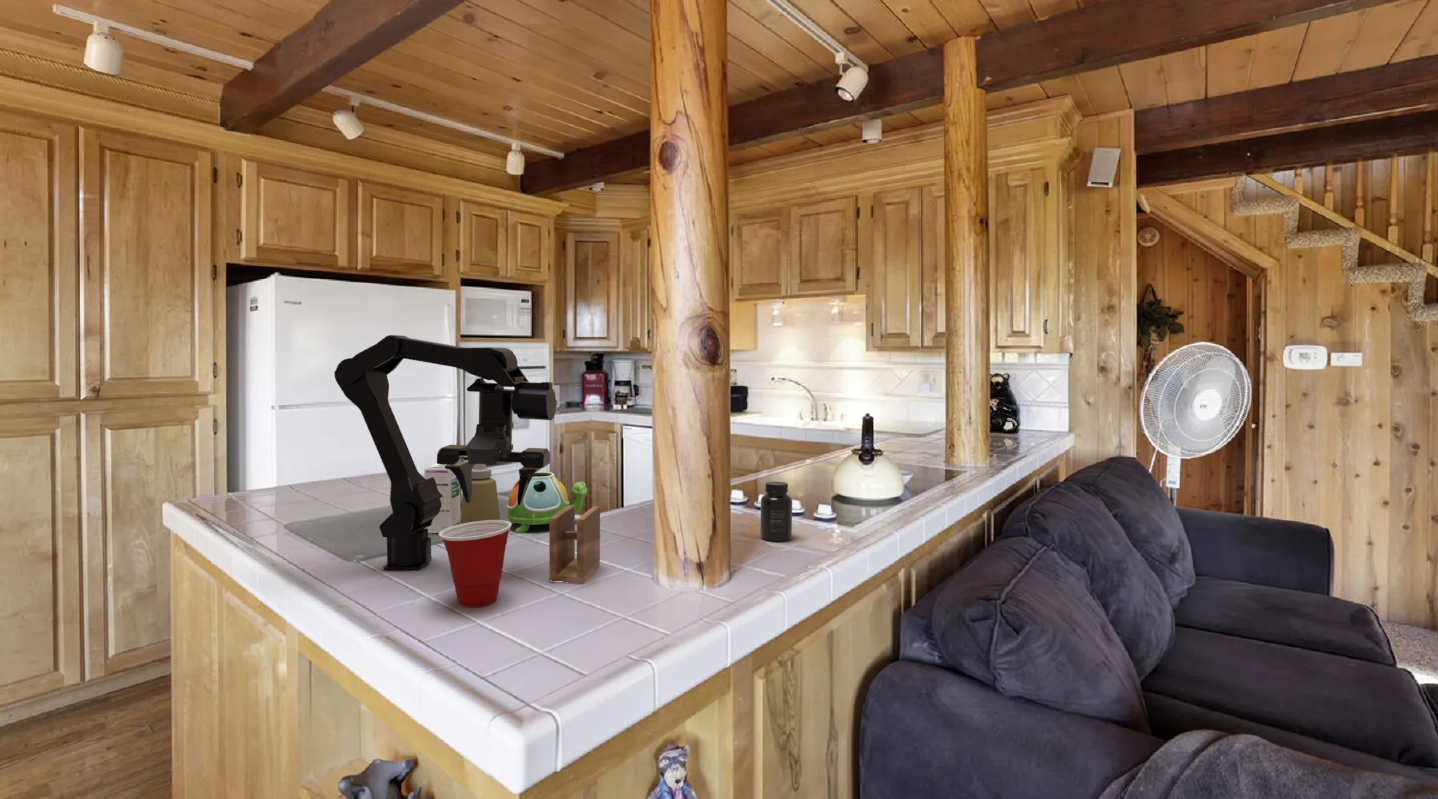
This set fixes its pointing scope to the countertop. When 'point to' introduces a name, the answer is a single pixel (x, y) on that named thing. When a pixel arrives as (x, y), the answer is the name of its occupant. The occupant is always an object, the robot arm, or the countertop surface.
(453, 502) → the syrup box
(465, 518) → the squeeze bottle
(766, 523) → the supplement bottle
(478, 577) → the plastic cup
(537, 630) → the countertop surface
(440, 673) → the countertop surface
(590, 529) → the wooden napkin holder
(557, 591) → the countertop surface
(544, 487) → the turtle holder
